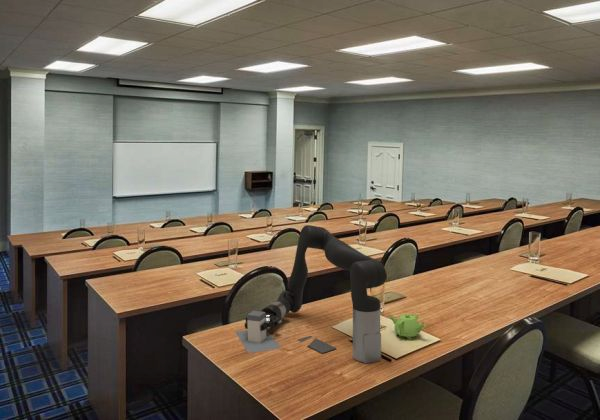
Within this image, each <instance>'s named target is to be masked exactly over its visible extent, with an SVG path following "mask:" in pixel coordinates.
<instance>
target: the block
mask: <svg viewBox="0 0 600 420" xmlns="http://www.w3.org/2000/svg"><path fill="white" fill-rule="evenodd" d="M261 311H262V310H261ZM261 311H258V310H252V311H251V312H250V313H248V314H247V315H246V317H247V322H248V329H247V330H248V341H252V342H259V343H260V342H262V341H263V340H264V339H265V338H266V329H265V330H263V331H261V330H260V326H261V325H262V324H263V323H264V322H266V312H261Z"/></svg>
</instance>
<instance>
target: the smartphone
mask: <svg viewBox="0 0 600 420" xmlns="http://www.w3.org/2000/svg"><path fill="white" fill-rule="evenodd" d="M312 338H313V336H312V335H309V336H305V337H301V338H299V339H297V341H298V342H300V343H303V342H306V341H307V340H310V339H312ZM306 347H307V348H309V349H311V350H313V351H315V352H317V353H319V354H321V355H324V354H328V353H330V352H333V351H336V350H337V347H335V346H333V345H331V344H329V343H326V342H325V341H323V340H320V339H318V338H317V337H315V338H314V339H313V340H312V341H311V342H310V343H309V344H308V345H307V346H306Z"/></svg>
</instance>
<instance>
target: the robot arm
mask: <svg viewBox="0 0 600 420" xmlns="http://www.w3.org/2000/svg"><path fill="white" fill-rule="evenodd" d="M309 248H310V249H315V250H322V251H324V256H325V258H326V260H327V261H328V262H330V263H331V264H332V265H334V266H335V267H337V268H338V269H341V270H345V271H349V277H350V278H349V279H350V283H349V284H350V296H351V302H352V358H353V359H354V360H355V361H357V362H362V363H363V364H369V363H374V362H380V361H382V333H381V300H380V299H379V298H377V297H376V296H372V295H368V291H367V290H368V289H375V288H377V287H382V286H383V285H384V284H385V283H386V281H387V278H388V273H387V269H386V268H385V266H384V264H383V263H382V262H381V261H380V260H378V259H375V258H373V257H371V256H369V255H366V254H364V253H362V252H361V251H359V250H357V249H355V248H354V247H352V246H351V245H349V244H348V243H346V242H345V241H343V240H341V239H339V238H338V237H335V236H334V235H333V234H332V233H331V232H330V231H329V230H328V229H327V228H324V227H321V226H318V225H317V226H316V225H309V224H305V225H304V226H303V227H302V228H301V229H300V233H299V236H298V241H297V246H296V251H295V257H294V261H293V262H294V263H293V265H292V266H293V267H292V270H291V273H290V276H289V280H288V281H287V288H288V290H290V291H288V290H283V291H282V292H281V293H280V294H279V296H278V298H277V299H276V300H275V301H273V302H271V303H270V304H268V305H266V306H265V307H264V308H262V309H261V312H266V322H264V323H263V324H262V325H261V326H260V330H261V331H263V330H265V329H267V330H268V329H270V328H271V329H276V328H277V327H279V326H280V325H282V324H283V323H282V319H283V318H284V317H285V316H286V315H288V314H289V313H290V312H292V313H294V314H295V313H298V312H299V311H300V310H301V309H302V305H303V295H304V294H303V293H304V288H305V285H306V282H307V279H308V276H309V270H308V265H307V260H306V252H307V249H309ZM244 329H245V330H248V322H247V316H246V317H245V322H244Z"/></svg>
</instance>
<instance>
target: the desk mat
mask: <svg viewBox="0 0 600 420" xmlns="http://www.w3.org/2000/svg"><path fill="white" fill-rule="evenodd" d="M235 334H236V335H237V337H238V339H239V340H240V342H241V343H242V345H243V347H244V348H245V350H246V351H247V353H248V354H251V353H258V352H264V351H271V350H277V349H282V347H281V345H280V344H279V343H278V342H277V340H276V339H275V338H274V336H273V335H272V334H271V333H270V332H269V331H268V328H267V329H266V338H265V339H264V340H263V341H262V342H260V343H259V342H252V341H248V329H245V330H244V329H243V330H238V331H235Z"/></svg>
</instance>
